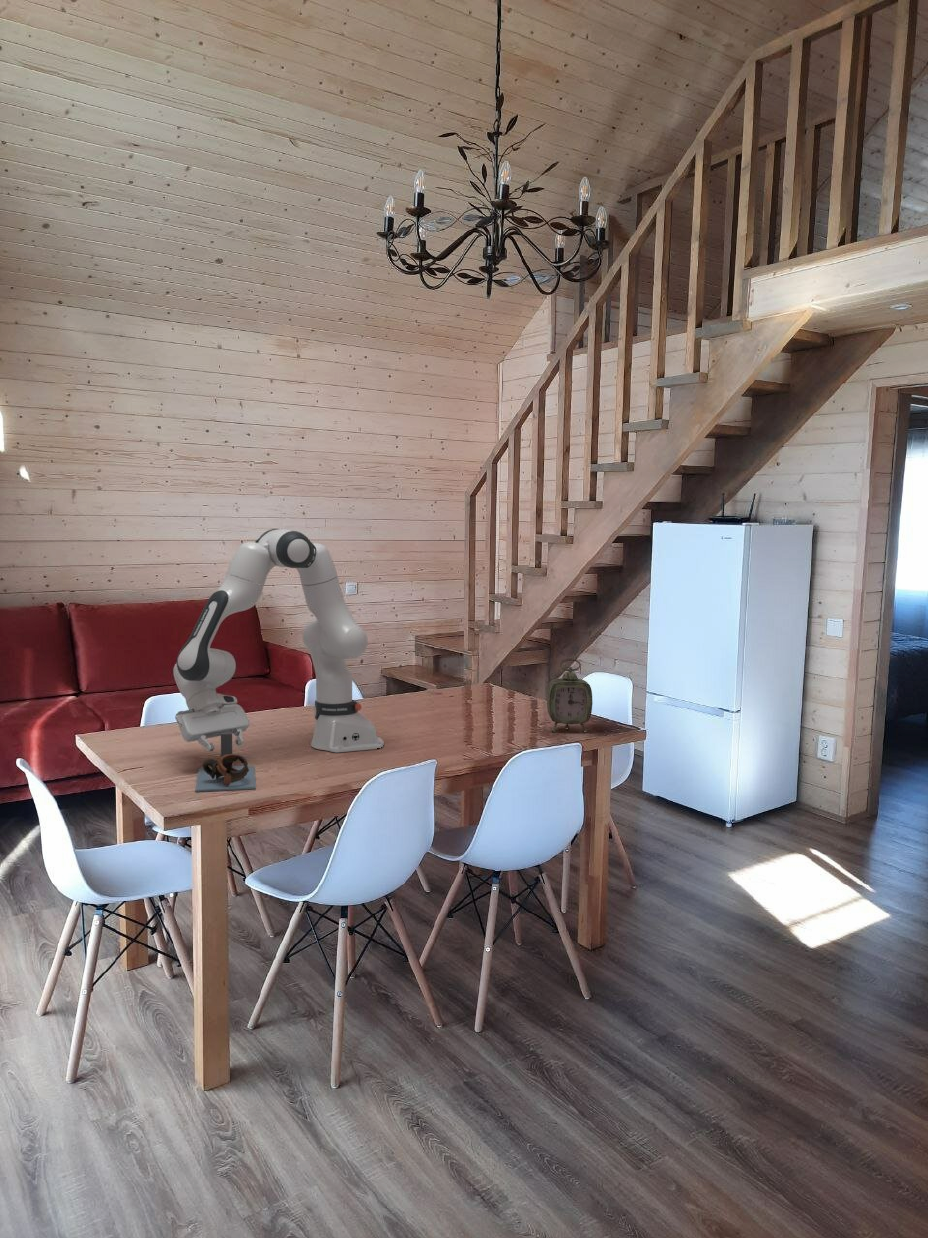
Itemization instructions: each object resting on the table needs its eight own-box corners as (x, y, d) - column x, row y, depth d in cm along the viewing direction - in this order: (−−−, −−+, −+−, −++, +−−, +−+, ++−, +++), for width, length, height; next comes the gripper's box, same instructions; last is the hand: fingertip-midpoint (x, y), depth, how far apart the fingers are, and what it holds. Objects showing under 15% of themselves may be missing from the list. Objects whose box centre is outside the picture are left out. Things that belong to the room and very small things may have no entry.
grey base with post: (254, 767, 254) (254, 730, 253) (255, 789, 233) (255, 749, 232) (199, 769, 250) (198, 732, 249) (195, 792, 230) (194, 751, 229)
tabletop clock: (548, 734, 301) (550, 660, 299) (545, 727, 310) (547, 656, 308) (591, 734, 302) (594, 660, 299) (586, 728, 311) (589, 656, 308)
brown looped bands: (247, 776, 244) (253, 754, 240) (240, 801, 236) (247, 778, 232) (202, 766, 242) (208, 744, 238) (195, 791, 234) (200, 768, 230)
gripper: (177, 705, 246) (197, 747, 240) (240, 696, 261) (260, 734, 256) (168, 719, 249) (188, 760, 244) (231, 708, 264) (251, 747, 259)
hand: (226, 747), depth 250 cm, fingers open, 8 cm apart
